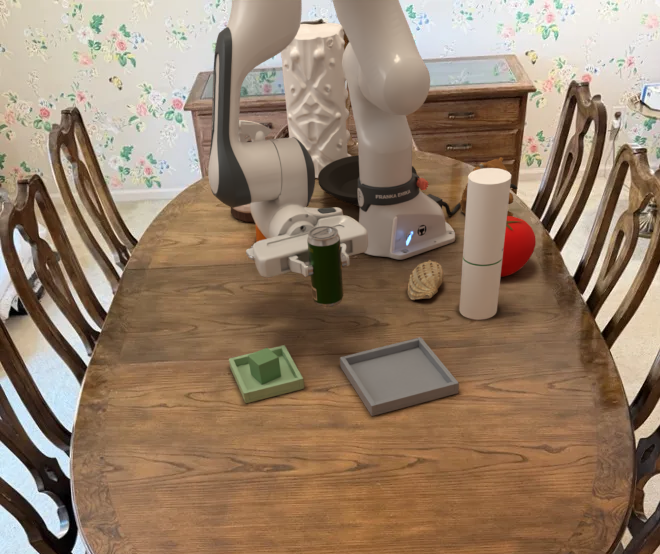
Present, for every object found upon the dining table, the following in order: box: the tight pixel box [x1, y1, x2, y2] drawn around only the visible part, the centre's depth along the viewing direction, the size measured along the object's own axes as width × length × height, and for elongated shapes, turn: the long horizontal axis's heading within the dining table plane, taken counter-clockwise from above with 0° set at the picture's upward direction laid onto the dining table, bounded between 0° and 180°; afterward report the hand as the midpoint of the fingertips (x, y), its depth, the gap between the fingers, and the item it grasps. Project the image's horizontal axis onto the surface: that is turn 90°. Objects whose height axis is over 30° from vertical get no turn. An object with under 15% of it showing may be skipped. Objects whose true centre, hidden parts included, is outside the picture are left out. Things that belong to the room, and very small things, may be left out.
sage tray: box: [228, 344, 305, 404], centre depth 127 cm, size 11×12×2 cm
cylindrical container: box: [458, 168, 512, 321], centre depth 130 cm, size 7×7×25 cm
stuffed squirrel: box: [458, 157, 514, 217], centre depth 163 cm, size 10×14×13 cm
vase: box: [280, 22, 352, 179], centre depth 185 cm, size 17×16×32 cm
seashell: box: [407, 259, 445, 301], centre depth 144 cm, size 8×6×10 cm
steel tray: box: [339, 336, 460, 417], centre depth 124 cm, size 16×16×2 cm
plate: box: [317, 154, 418, 207], centre depth 178 cm, size 28×24×6 cm
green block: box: [248, 347, 281, 384], centre depth 126 cm, size 4×4×4 cm
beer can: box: [307, 226, 344, 308], centre depth 121 cm, size 5×5×12 cm
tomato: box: [500, 215, 537, 278], centre depth 146 cm, size 14×13×10 cm
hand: (327, 266), depth 120 cm, fingers closed on beer can, 5 cm apart
